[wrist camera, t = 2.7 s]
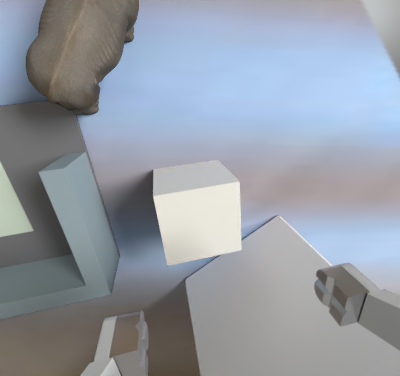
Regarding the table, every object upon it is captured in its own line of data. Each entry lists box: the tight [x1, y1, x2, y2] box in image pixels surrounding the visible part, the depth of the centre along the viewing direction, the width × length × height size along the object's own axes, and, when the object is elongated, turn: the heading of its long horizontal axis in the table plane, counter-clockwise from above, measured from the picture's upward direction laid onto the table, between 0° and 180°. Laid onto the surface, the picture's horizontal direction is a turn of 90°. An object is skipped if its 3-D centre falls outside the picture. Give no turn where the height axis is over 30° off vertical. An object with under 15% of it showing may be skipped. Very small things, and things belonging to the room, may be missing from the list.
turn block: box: [153, 160, 242, 266], centre depth 19 cm, size 6×6×6 cm
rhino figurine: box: [26, 0, 139, 115], centre depth 13 cm, size 4×14×6 cm, turn 149°
